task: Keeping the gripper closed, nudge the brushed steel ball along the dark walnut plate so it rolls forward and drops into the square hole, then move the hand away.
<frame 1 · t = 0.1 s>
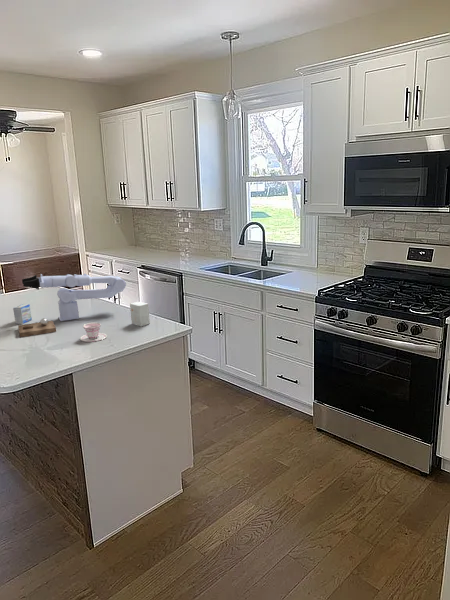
hand: (22, 282, 230), 22 cm above the countertop, tool horizontal, fingers open, 7 cm apart
hole plate: (37, 330, 225), on the countertop
medicine box: (23, 322, 240), on the countertop
steel ball: (43, 321, 225), point 4 cm above the countertop, touching hole plate
small box: (140, 324, 230), on the countertop
teacup: (93, 338, 211), on the countertop
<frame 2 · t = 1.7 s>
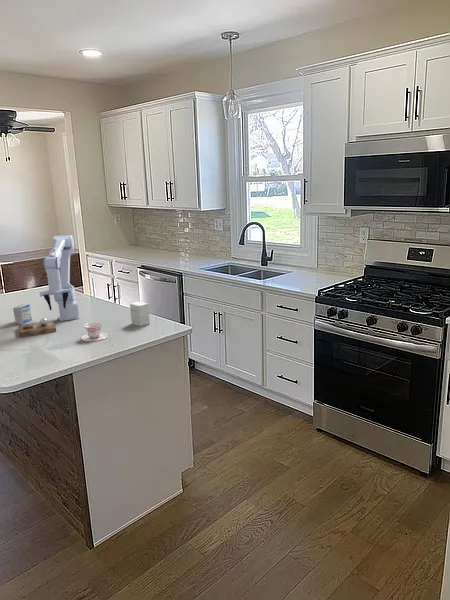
hand: (57, 308, 227), 9 cm above the countertop, tool pointing down, fingers open, 6 cm apart
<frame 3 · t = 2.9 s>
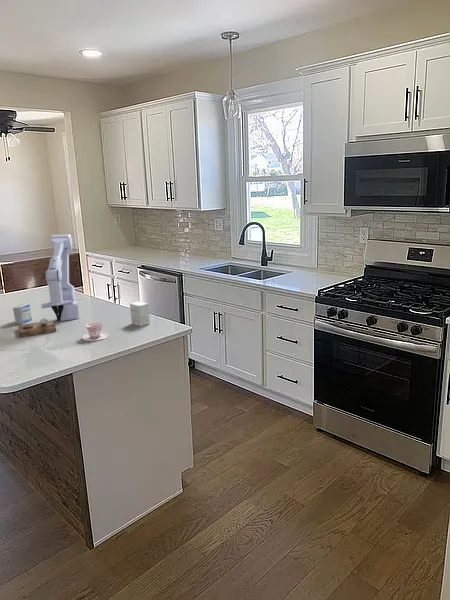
hand: (59, 320, 228), 3 cm above the countertop, tool pointing down, fingers closed
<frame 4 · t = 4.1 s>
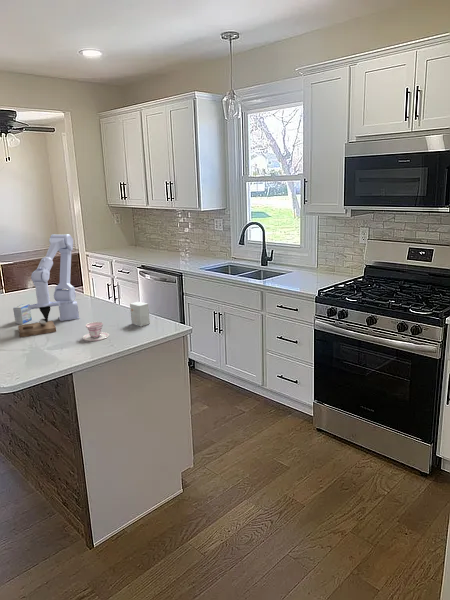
hand: (46, 321, 226), 4 cm above the countertop, tool pointing down, fingers closed, pressing on steel ball
steel ball: (42, 322, 225), point 4 cm above the countertop, tilted 16°, touching gripper, hole plate
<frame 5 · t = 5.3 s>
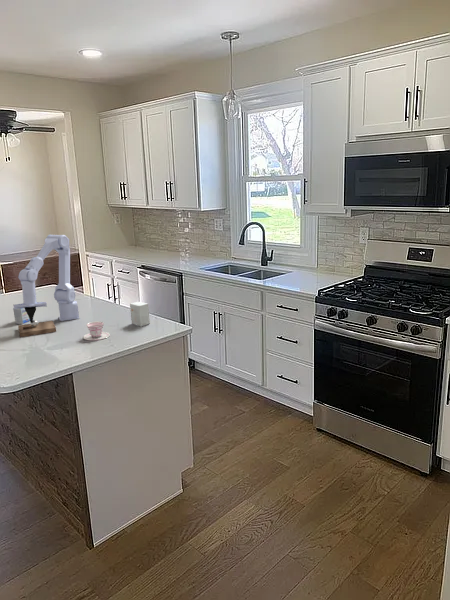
hand: (31, 322, 222), 5 cm above the countertop, tool pointing down, fingers closed, pressing on steel ball
steel ball: (34, 323, 223), point 4 cm above the countertop, tilted 145°, touching gripper, hole plate
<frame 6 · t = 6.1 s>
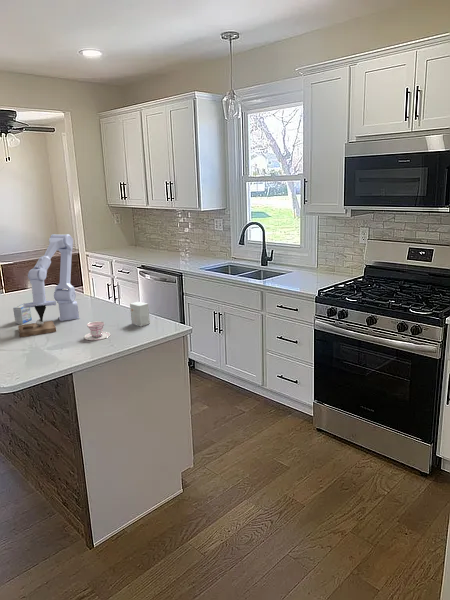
hand: (41, 321, 224), 5 cm above the countertop, tool pointing down, fingers closed, pressing on steel ball
steel ball: (39, 322, 224), point 4 cm above the countertop, tilted 65°, touching gripper, hole plate
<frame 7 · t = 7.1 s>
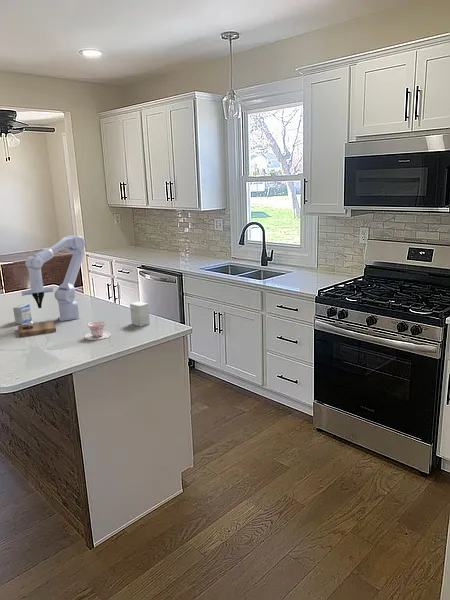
hand: (39, 307, 230), 9 cm above the countertop, tool pointing down, fingers closed
steel ball: (30, 324, 223), point 3 cm above the countertop, tilted 151°
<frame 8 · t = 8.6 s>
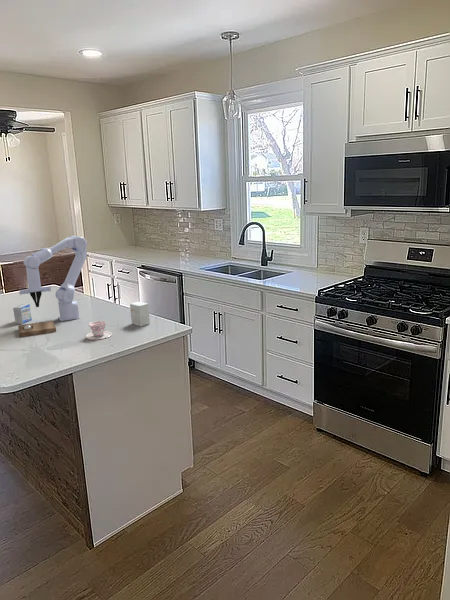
hand: (37, 306, 232), 9 cm above the countertop, tool pointing down, fingers closed
steel ball: (27, 328, 222), point 2 cm above the countertop, tilted 110°
at the end: steel ball 0.3 cm from the target spot on the hole plate, point 1.7 cm above the hole plate's base; steel ball moved 7.9 cm from its start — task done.
